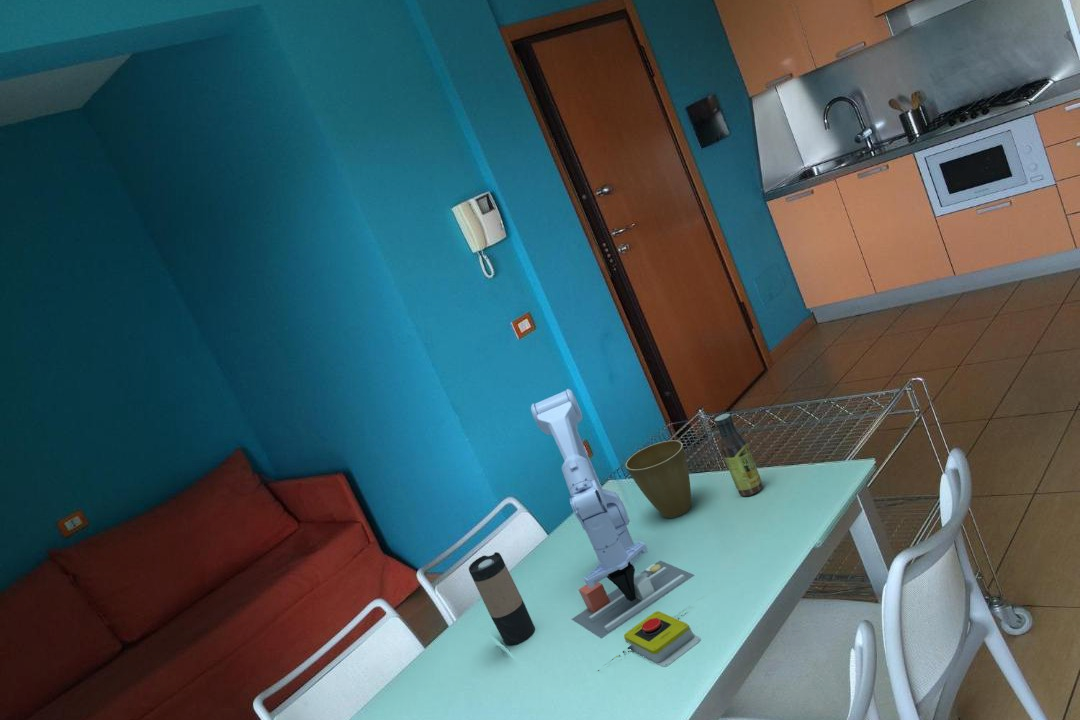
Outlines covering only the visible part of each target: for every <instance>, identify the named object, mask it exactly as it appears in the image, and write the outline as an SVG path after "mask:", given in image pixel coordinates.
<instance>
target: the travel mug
mask: <svg viewBox="0 0 1080 720" xmlns="http://www.w3.org/2000/svg"><path fill="white" fill-rule="evenodd" d="M468 572H469V574H470V576H471V579H472V580H473V582H474V584H475V587H476V589H477V590H478V593H479V595H480V597H481V599H482V601H483V604H484V606H485V607H486V610H487V612H488V614H489V617H490V618H491V620H492V622H493V624H494V625H495V628H496V629H497V632H498V633H499V635H500V637H501V638H502V640H503V643H504V644H505V646H509V647H514V646H518V645H520V644H522V643H524V642H526V641H527V640H529V639H530V638H532V637H533V636H534V633H535V631H536V627H535V624H534V622H533V620H532V618H531V615H530V613H529V611H528V608H527V607H526V604H525V602H524V600H523V598H522V597H523V596H522V595H521V593H520V592H519V589H518V587H517V586H516V583H515V581H514V579H513V577H512V575H511V573H510V571H509V569H508V567H507V565H506V563H505V561H504V559H503V556H502V555H501V553H500V552H494V553H493V554H491V555H481V556H480V557H478V558H477V559H475V560H473V561H472V563H471V564H470V565H469V566H468Z"/></svg>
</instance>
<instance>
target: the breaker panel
mask: <svg viewBox="0 0 1080 720" xmlns="http://www.w3.org/2000/svg"><path fill="white" fill-rule="evenodd" d="M639 574H642V575H644V576H646V577H648V578H649V579H650V582H651V584H652V586H653V588H654V591H655V592H654V593H653V594H652V595H650V596H649V597H647V598H646V599H644V600H643V601H641V600H639V599H638V598H636V599H635V600H633V601H629V600H627V598H626V597H625V595H624V594H623V593H622V591H621V590H620V589H619V588H618V587H617V588H616V589H614V590H613V591H612V592H610V593H609V594H607V596H608V598H609V600H610V602H611V603H609V604H608V605H606V606H605V607H603V608H601V609H600V610H598V611H597V612H595V613H593V612H591V611H589V610H588V609H587V608H586V609H585V610H583V611H581V612H580V613H578V614H577V615H576V616H574V617H572V618H571V620H572V621H574V622H575V623H577V624H578V625H580V626H581V627H583V628H584V629H586V630H588V631H589V632H591V633H592V634H594V635H595V636H597V637H598V638H600V639H603V638H604V637H606V636H607V635H609V634H610V633H612V632H614V631H615V630H616V629H618V628H620V627H621V626H622V625H624V624H625V623H627V622H628V621H630V620H631V619H633V618H634V617H636V616H637V615H639V614H640V613H641V612H642V611H645V610H646V609H648V608H649V607H650V606H652V605H653V604H654V603H656V602H658V601H659V600H661V599H662V598H663V597H665V596H666V595H668V594H669V593H671V592H672V591H673V590H675V589H677V588H678V587H679V586H681V585H683V584H684V583H685V582H687V581H688V580H690V579H692V578H693V577H695V574H693V573H691V572H689V571H686V570H683V569H682V568H678V567H677V566H675V565H672V564H669V563H667V562H665V561H663V560H658V561H657V562H656V563H653V564H651V565H649V566H648V567H647V568H645V569H644V570H643V571H642V572H640V573H639Z"/></svg>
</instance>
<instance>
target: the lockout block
mask: <svg viewBox="0 0 1080 720" xmlns="http://www.w3.org/2000/svg"><path fill="white" fill-rule="evenodd" d="M578 591H579V593H580V596H581V598H582V600H583V602H584V604H585V606H586V607H585V608H586V609H588V610H589V611H591V612H593V613H595V612H597V611H598V610H600V609H601V608H603V607H605V606H606V605H608V604H609V603H611V602H610V600H609V598H608V596H607V595H608V594H607V591H606V589H605V587H604V585H603V583H601V582H600V581H599V582H598V583H596V584H595V586H594V587H593V588H590V587H588V586H587V584H586V583H585V584H584V585H583V586H582V587H580V588H579V589H578Z"/></svg>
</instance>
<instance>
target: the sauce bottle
mask: <svg viewBox="0 0 1080 720" xmlns="http://www.w3.org/2000/svg"><path fill="white" fill-rule="evenodd" d="M714 423H715V425H716V427H717V429H718V431H719V434H720V436H721V438H720V445H719V446H720V450H721V453H722V455H723V458H724V460H725V463H726V466H727V468H728V471H729V473H730V476H731V479H732V481H733V484H734V485H735V489H736V490H737V491H738V494H739V495H740V496H742V497H749V496H753V495H755V494H757V493H758V492H760V491H761V490H762V489H763V483H762V478H761V476H760V473H759V470H758V468H757V465H756V463H755V461H754V458H753V455H752V453H751V451H750V447H749V446H748V445H749V444H748V443H747V441H746V440H745V439H744V438H743V437H742V435H741V434H740V433H739V431H737V429H736V427H735V424H734V422H733V417H732V415H731V414H730V413H722V414H721V415H718V416H716V417H715V419H714Z"/></svg>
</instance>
